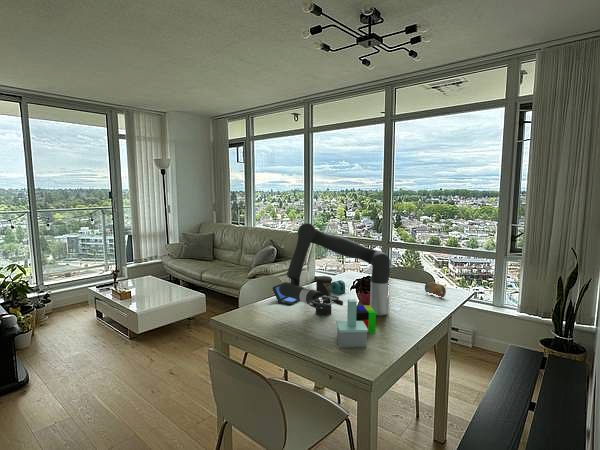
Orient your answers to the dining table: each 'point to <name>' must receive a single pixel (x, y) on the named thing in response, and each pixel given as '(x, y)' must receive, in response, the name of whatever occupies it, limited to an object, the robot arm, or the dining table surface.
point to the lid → (351, 320)
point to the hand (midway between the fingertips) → (336, 305)
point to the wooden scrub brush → (435, 288)
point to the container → (323, 292)
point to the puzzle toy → (367, 317)
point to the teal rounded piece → (338, 287)
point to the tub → (352, 339)
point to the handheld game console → (283, 297)
